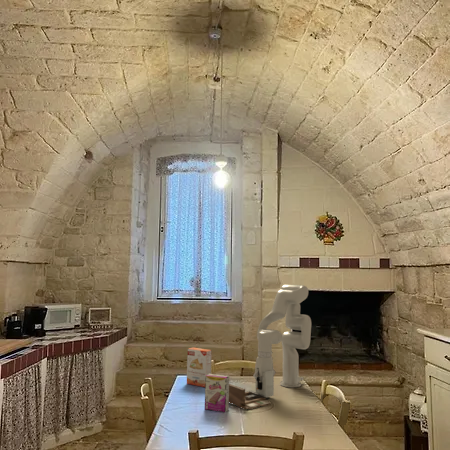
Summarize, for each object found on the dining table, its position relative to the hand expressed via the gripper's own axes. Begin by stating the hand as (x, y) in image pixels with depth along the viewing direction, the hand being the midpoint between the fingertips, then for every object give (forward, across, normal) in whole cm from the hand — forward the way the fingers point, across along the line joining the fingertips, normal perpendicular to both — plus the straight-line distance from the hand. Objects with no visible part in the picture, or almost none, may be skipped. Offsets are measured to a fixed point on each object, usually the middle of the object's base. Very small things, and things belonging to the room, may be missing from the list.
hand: (264, 387), depth 236 cm
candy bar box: (+5, +34, +2) cm, 35 cm away
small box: (+4, 0, 0) cm, 4 cm away
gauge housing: (+5, +14, +2) cm, 15 cm away
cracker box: (+5, +15, -41) cm, 44 cm away
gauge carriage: (+4, +9, +3) cm, 10 cm away
